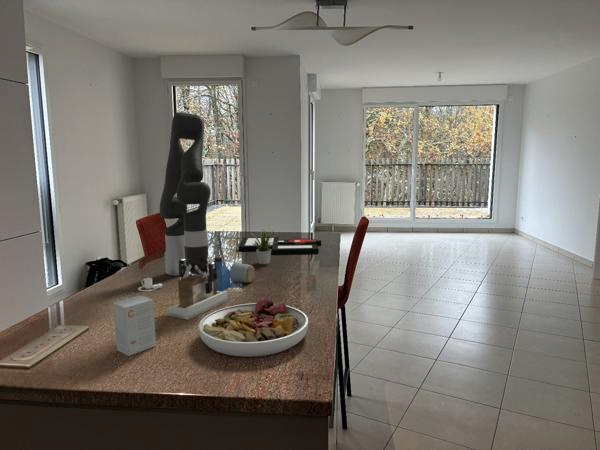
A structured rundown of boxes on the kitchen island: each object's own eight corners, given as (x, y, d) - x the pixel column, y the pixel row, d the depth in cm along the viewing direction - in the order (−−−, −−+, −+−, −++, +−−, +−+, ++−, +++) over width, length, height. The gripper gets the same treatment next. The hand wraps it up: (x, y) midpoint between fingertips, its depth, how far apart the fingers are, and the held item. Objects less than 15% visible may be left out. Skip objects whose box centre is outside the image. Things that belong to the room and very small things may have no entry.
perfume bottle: (230, 286, 172) (229, 256, 170) (222, 291, 166) (221, 260, 164) (216, 285, 174) (215, 255, 172) (208, 289, 168) (206, 259, 166)
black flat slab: (236, 255, 227) (324, 254, 228) (236, 250, 226) (324, 248, 228) (243, 242, 263) (319, 241, 264) (243, 237, 262) (319, 236, 263)
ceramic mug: (248, 285, 173) (247, 266, 172) (229, 283, 176) (228, 264, 175) (259, 278, 183) (259, 260, 182) (241, 277, 186) (241, 259, 185)
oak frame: (189, 312, 141) (188, 281, 139) (179, 310, 143) (177, 280, 141) (217, 299, 153) (216, 271, 151) (207, 298, 155) (206, 270, 153)
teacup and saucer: (165, 288, 172) (164, 277, 172) (149, 293, 165) (148, 283, 165) (149, 285, 177) (148, 275, 176) (133, 290, 170) (132, 280, 169)
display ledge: (168, 315, 141) (167, 304, 140) (208, 297, 158) (208, 288, 158) (188, 319, 137) (187, 308, 137) (227, 300, 155) (227, 291, 154)
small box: (143, 340, 122) (140, 294, 120) (156, 346, 118) (153, 299, 116) (115, 350, 116) (111, 302, 114) (128, 356, 112) (124, 307, 110)
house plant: (287, 263, 207) (286, 229, 205) (262, 268, 199) (261, 232, 197) (270, 258, 219) (269, 225, 216) (246, 262, 210) (245, 228, 208)
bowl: (299, 365, 106) (298, 334, 105) (181, 358, 111) (179, 328, 110) (314, 320, 136) (314, 295, 135) (220, 316, 140) (219, 292, 139)
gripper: (220, 243, 144) (222, 291, 147) (187, 240, 151) (189, 286, 153) (205, 247, 138) (208, 297, 140) (171, 244, 144) (174, 291, 147)
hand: (198, 291), depth 147 cm, fingers open, 8 cm apart
